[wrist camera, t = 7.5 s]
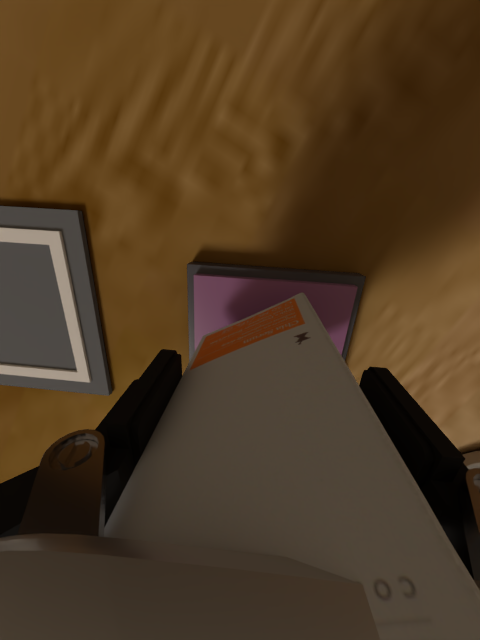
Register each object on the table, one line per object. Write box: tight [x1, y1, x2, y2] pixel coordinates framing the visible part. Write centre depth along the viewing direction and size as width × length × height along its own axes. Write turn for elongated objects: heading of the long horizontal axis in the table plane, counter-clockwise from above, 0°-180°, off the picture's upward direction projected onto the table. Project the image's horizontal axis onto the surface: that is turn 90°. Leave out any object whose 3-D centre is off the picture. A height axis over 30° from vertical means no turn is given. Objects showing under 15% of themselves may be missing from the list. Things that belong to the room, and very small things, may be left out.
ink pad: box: [187, 262, 366, 362], centre depth 15 cm, size 10×8×2 cm
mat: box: [0, 206, 112, 395], centre depth 17 cm, size 13×13×1 cm
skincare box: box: [104, 293, 480, 640], centre depth 8 cm, size 6×4×12 cm
